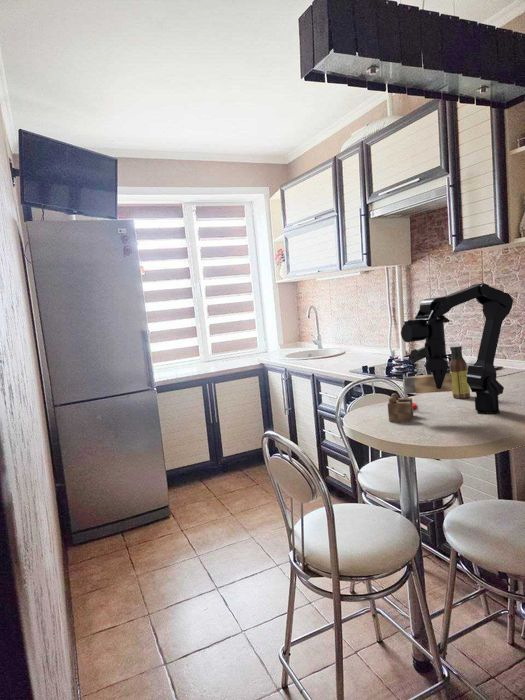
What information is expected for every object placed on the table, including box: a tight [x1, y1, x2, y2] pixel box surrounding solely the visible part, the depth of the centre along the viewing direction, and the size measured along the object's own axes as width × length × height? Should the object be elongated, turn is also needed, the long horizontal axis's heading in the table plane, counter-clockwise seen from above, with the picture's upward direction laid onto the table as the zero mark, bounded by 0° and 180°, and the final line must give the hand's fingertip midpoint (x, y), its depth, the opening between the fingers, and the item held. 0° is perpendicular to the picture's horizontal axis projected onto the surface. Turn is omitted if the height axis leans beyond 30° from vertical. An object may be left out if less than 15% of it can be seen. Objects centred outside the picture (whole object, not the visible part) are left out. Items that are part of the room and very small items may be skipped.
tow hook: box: [402, 373, 418, 410], centre depth 161 cm, size 8×13×9 cm
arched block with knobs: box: [387, 392, 414, 422], centre depth 146 cm, size 7×8×8 cm
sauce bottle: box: [448, 345, 471, 399], centre depth 166 cm, size 6×6×20 cm
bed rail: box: [404, 372, 453, 394], centre depth 139 cm, size 14×4×5 cm, turn 68°
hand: (439, 387), depth 138 cm, fingers closed on bed rail, 4 cm apart
